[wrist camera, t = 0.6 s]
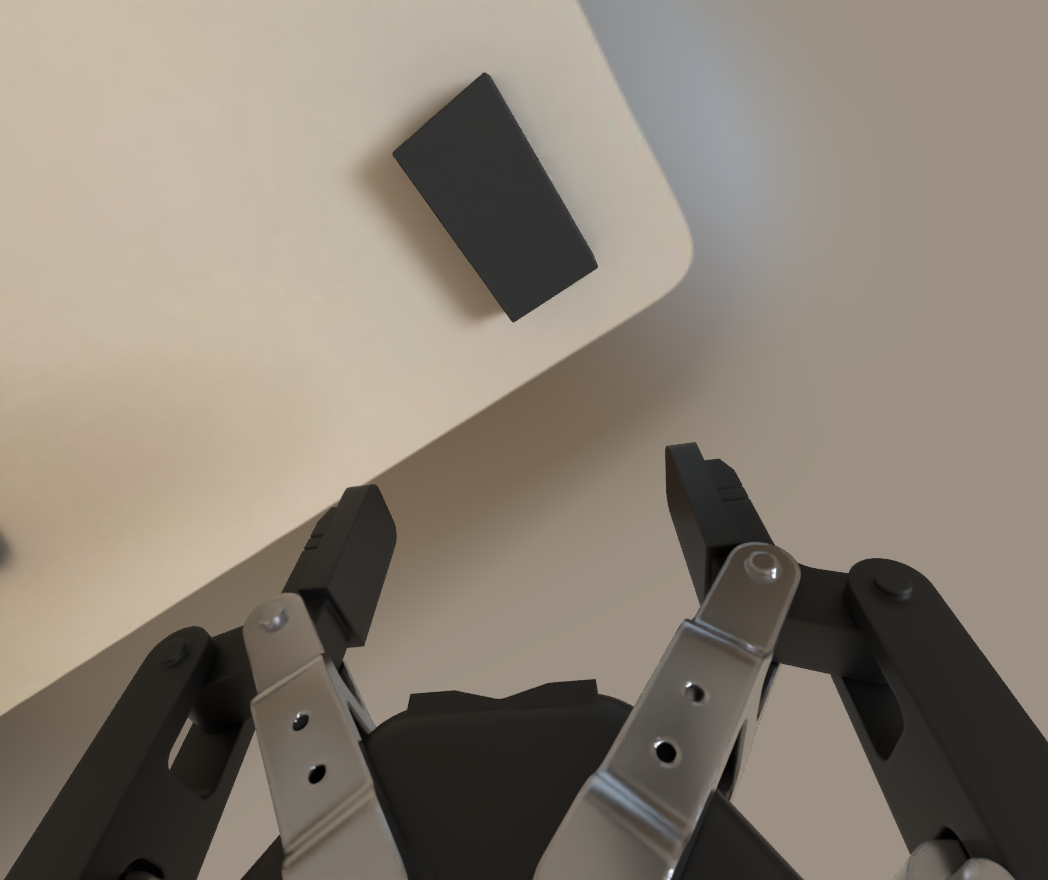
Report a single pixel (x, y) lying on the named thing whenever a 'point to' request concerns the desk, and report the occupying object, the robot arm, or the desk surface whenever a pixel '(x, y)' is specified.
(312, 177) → the desk surface
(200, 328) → the desk surface
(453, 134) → the black pad
